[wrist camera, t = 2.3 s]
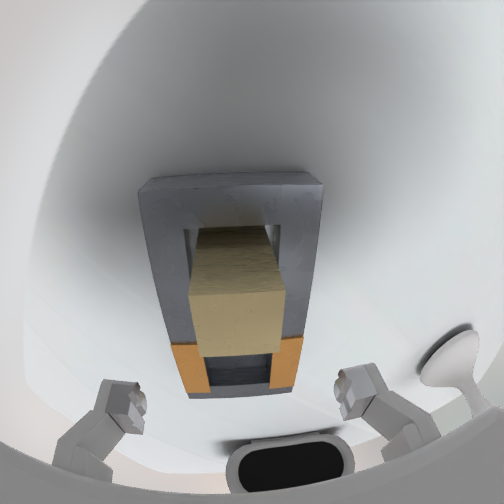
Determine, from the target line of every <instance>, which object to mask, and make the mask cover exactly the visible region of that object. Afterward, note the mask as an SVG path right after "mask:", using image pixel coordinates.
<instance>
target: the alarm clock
mask: <svg viewBox="0 0 504 504" xmlns="http://www.w3.org/2000/svg"><path fill="white" fill-rule="evenodd" d="M354 469H355V461H354V456H353V453H352V451H351V449H350V447H349V446H348V444H347V443H346V442H345V441H344V440H343V439H341V438H340V437H338V436H335V435H331V434H319V431H317V432H312V433H306V434H300V435H293V436H286V437H278V438H270V439H259V440H251V444H248V445H243V446H242V447H240V448H238V449H237V450H235V451H234V452H233V453H232V455H231V456H230V457H229V459H228V462H227V465H226V480H227V484H228V487H229V490H230V492H231V494H236V493H252V492H263V491H271V490H279V489H286V488H292V487H298V486H304V485H309V484H314V483H318V482H323V481H327V480H331V479H335V478H339V477H343V476H346V475H350V474H353V473H354Z"/></svg>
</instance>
